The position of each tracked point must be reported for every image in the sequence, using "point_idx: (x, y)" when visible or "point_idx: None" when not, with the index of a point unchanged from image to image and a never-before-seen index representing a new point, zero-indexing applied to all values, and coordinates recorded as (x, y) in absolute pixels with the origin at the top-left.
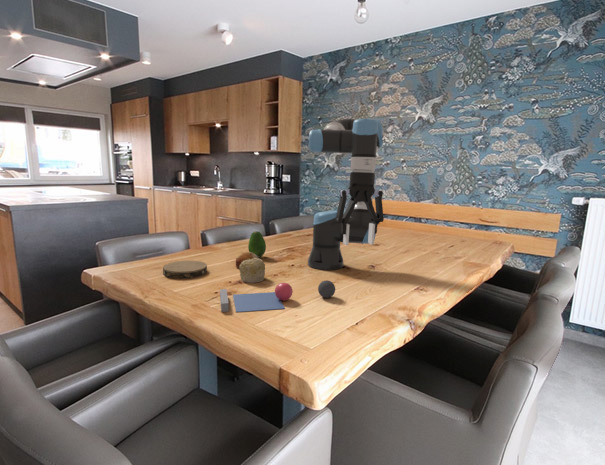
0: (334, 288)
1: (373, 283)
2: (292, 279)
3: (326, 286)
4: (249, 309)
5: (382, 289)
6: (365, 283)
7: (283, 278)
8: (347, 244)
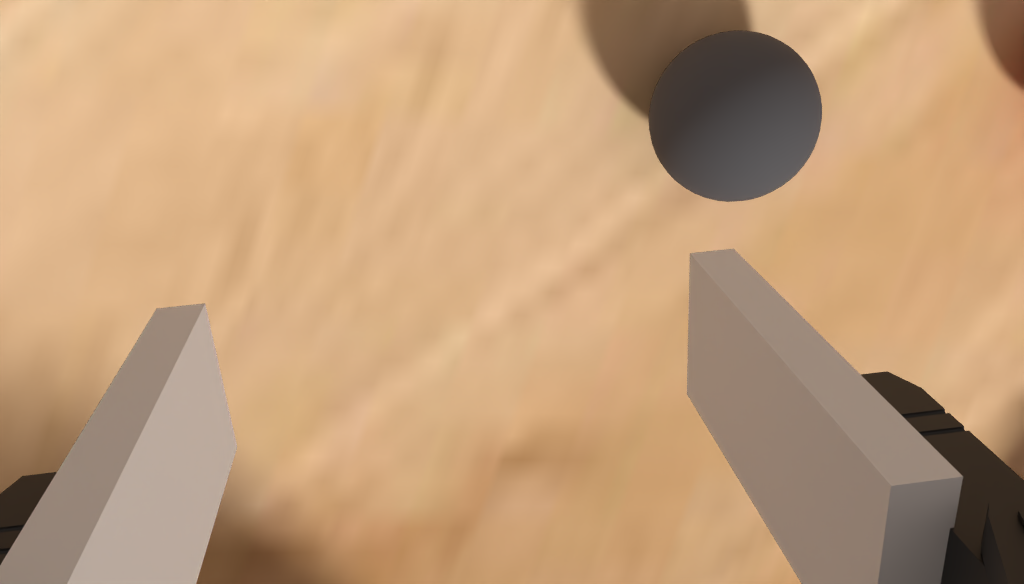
0: (683, 69)
1: None
2: None
3: (781, 58)
4: None
5: (104, 267)
6: None
7: None
8: (712, 256)
